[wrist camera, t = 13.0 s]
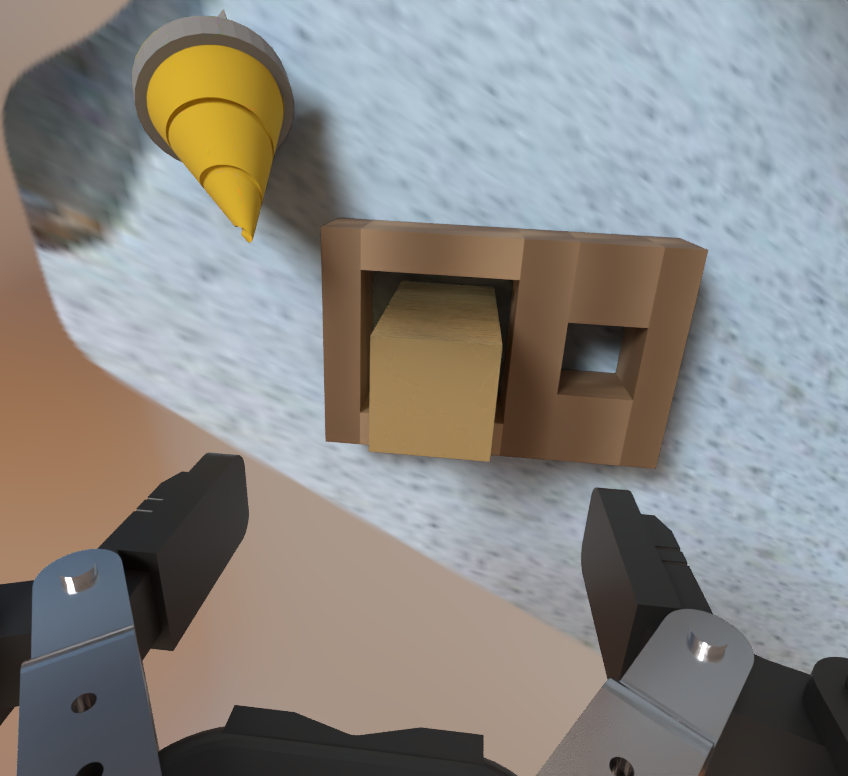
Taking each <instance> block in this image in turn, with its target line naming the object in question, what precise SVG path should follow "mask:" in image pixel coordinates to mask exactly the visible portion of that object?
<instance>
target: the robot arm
mask: <svg viewBox="0 0 848 776" xmlns="http://www.w3.org/2000/svg"><path fill="white" fill-rule="evenodd" d="M248 518H249V509H248V497H247V487H246V476H245V466H244V461H243V458H242V457H241V456H240V455H231V454H219V453H206V454H205V455H204V456H203V457H202V458H201V459H200V460H199V462H197V464H196V465H195V466H194V467H193V468H192V469H191V470H190V471H189V472H180V473H179V474H177V475H175V476H173V477H171V478H169V479H168V480H166V481H164V482H162V483H161V484H160V485H159V486H158V487H157V488H156V489H155V490H154V491H153V492H152V493H151V494H150V495H149V496H148V499H147V500H144V501H143V502H142V503H141V504H140V505H139V507H138V508H137V511H134V512H133V513H132V514H131V515H130V516H129V517H128V518H127V519H126V520H125V521H124V522H123V523H122V524H121V525H120V526H119V527H118V528H117V529H116V530H115V531H114V532H113V533H112V534H111V535H110V536H109V537H108V538H107V539H106V540H105V541H104V542H103V543H102V545H101V546H100V547H99V548H98V549H88V550H82V551H78V552H74V553H71V554H68V555H66V556H63V557H61V558H60V559H57V560H55V561H54V562H52V563H51V564H49V565H48V566H46V567H45V568H44V569H43V570H42V571H41V572H40V573H39V574H38V575H37V577H36V578H35V580H32V581H25V582H16V583H8V584H0V725H1V724H2V723H3V721H4V720H5V719H6V717H7V716H8V715H9V714H10V712H11V711H12V710H13V709H14V707H16V706H19V725H18V751H17V752H18V753H17V776H517V775H516V774H514V773H513V772H511V771H510V770H509V769H507V768H505V767H503V766H501V765H499V764H498V763H496V762H494V761H491V760H489V759H486V758H484V757H483V735H478V734H471V733H462V732H454V731H446V730H437V729H429V728H413V729H405V730H397V731H389V732H382V733H374V734H366V735H350V734H347V733H345V732H342V731H340V730H337V729H335V728H332V727H330V726H327V725H325V724H322V723H320V722H317V721H315V720H312V719H310V718H307V717H305V716H302V715H300V714H297V713H295V712H288V711H280V710H272V709H263V708H255V707H247V706H238V705H235V706H234V708H233V710H232V712H231V714H230V717H229V719H228V721H227V723H226V726H225V727H218V728H214V729H210V730H206V731H202V732H199V733H196V734H194V735H191V736H188V737H185V738H183V739H181V740H179V741H177V742H175V743H172V744H170V745H169V746H167V747H165V748H163V749H162V750H159V745H158V740H157V734H156V729H155V724H154V719H153V713H152V708H151V703H150V698H149V693H148V687H147V682H146V677H145V672H144V667H143V662H142V661H143V659H144V658H145V656H146V655H147V653H148V652H149V650H150V649H159V650H168V651H173V650H174V649H175V647H176V646H177V644H178V642H179V641H180V639H181V638H182V636H183V634H184V633H185V631H186V630H187V628H188V626H189V625H190V623H191V622H192V620H193V618H194V617H195V615H196V614H197V612H198V610H199V609H200V607H201V605H202V604H203V602H204V601H205V599H206V598H207V596H208V594H209V592H210V591H211V589H212V588H213V586H214V585H215V583H216V581H217V580H218V578H219V577H220V575H221V573H222V572H223V570H224V569H225V567H226V565H227V564H228V562H229V560H230V559H231V557H232V556H233V554H234V552H235V551H236V549H237V548H238V546H239V544H240V543H241V541H242V540H243V538H244V535H245V533H246V529H247V525H248ZM581 566H582V573H583V578H584V582H585V586H586V591H587V595H588V599H589V603H590V607H591V612H592V616H593V620H594V624H595V629H596V633H597V637H598V641H599V645H600V650H601V654H602V658H603V662H604V666H605V671H606V675H607V679H608V680H607V681H606V682H605V684H604V685H603V686H602V687H601V689H600V690H599V691H598V693H597V694H596V696H595V697H594V698H593V699H592V701H591V702H590V703H589V705H588V706H587V707H586V709H585V710H584V712H583V713H582V714H581V716H580V717H579V718H578V720H577V721H576V722H575V724H574V725H573V726H572V728H571V729H570V731H569V732H568V733H567V734H566V736H565V737H564V739H563V740H562V741H561V743H560V744H559V745H558V747H557V748H556V749H555V751H554V752H553V754H552V755H551V756H550V757H549V759H548V760H547V761H546V763H545V764H544V766H543V767H542V768H541V770H540V771H539V772H538V774H537V775H536V776H848V659H847V658H842V657H828V658H824V659H821V660H820V661H818V662H817V663H816V664H815V666H814V668H813V670H812V673H811V675H809V674H806V673H803V672H801V671H798V670H795V669H792V668H789V667H786V666H783V665H780V664H777V663H774V662H771V661H769V660H766V659H764V658H761V657H759V656H757V655H755V654H754V653H753V649H752V647H751V645H750V643H749V642H748V640H747V639H746V638H745V637H744V635H743V634H742V633H741V632H740V631H739V630H737V629H736V628H735V627H734V626H733V625H731V624H730V623H728V622H727V621H725V620H723V619H721V618H720V617H717V616H715V615H713V613H712V611H711V609H710V607H709V605H708V603H707V601H706V599H705V597H704V595H703V593H702V591H701V589H700V587H699V585H698V583H697V581H696V579H695V577H694V575H693V573H692V571H691V569H690V567H689V566H687V561H686V559H685V557H684V555H683V553H682V552H680V547H679V545H678V543H677V541H676V539H675V537H674V535H673V533H672V531H671V530H670V529H669V528H668V527H666V526H665V525H664V524H663V523H662V522H661V521H660V520H659V519H658V518H657V517H656V516H654V515H644V514H641V513H640V511H639V509H638V506H637V504H636V502H635V499H634V497H633V495H632V493H631V492H630V491H629V490H618V489H607V488H594V490H593V492H592V495H591V500H590V506H589V511H588V516H587V522H586V527H585V532H584V538H583V543H582V552H581Z"/></svg>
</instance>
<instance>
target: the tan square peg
mask: <svg viewBox="0 0 848 776" xmlns="http://www.w3.org/2000/svg"><path fill="white" fill-rule="evenodd" d="M501 355H502V339H501V332H500V325H499V318H498V310H497V303H496V296H495V289H494V287H487V286H472V285H458V284H443V283H428V282H413V281H401V283H400V285H399V287H398V288H397V290H396V292H395V294H394V295H393V297H392V299H391V301H390V302H389V304H388V306H387V308H386V309H385V311H384V313H383V315H382V316H381V318H380V320H379V322H378V323H377V325H376V327H375V329H374V331H373V332H372V334H371V336H370V401H369V451H371V452H382V453H394V454H406V455H417V456H429V457H441V458H452V459H464V460H476V461H487V462H490V455H491V446H492V437H493V428H494V418H495V409H496V400H497V391H498V382H499V373H500V364H501Z"/></svg>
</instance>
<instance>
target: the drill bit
mask: <svg viewBox="0 0 848 776" xmlns="http://www.w3.org/2000/svg"><path fill="white" fill-rule="evenodd" d="M132 87H133V94H134V100H135V106H136V110H137V114H138V118H139V120H140V122H141V124H142V126H143V128H144V130H145V131H146V133H147V134H148V135H149V137H150V138H151V139H152V141H153V142H154V143H155V144H156V145H158V146H159V147H160V148H161V149H162V150H163V151H164V152H166V153H167V154H169V155H170V156H172V157H173V158H175V159H176V160H179V161H181V162H183V164H184V165H185V166H186V167H187V168H188V170H189V171H190V172H191V173H192V175H193V176H194V177H195V178H196V179H197V181H198V182H199V183H200V184H201V186H202V187H203V188H204V189H205V190H206V192H207V193H208V194H209V195H210V197H211V198H212V199H213V200H214V201H215V203H216V204H217V205H218V206H219V208H220V209H221V210H222V211H223V212H224V214H225V215H226V216H227V217H228V219H229V220H230V221H231V222H232V223H233V225H234V226H235V227H241V228H242V233H241V234H242V236H243V237H244V238H245V239H246V240H247V241H248V242H249V243H250V242H252V240H253V237H254V233H255V229H256V225H257V221H258V217H259V213H260V209H261V205H262V201H263V198H264V194H265V190H266V186H267V182H268V178H269V174H270V170H271V166H272V162H273V158H274V154H275V150H277V149H278V148H279V146H280V145H281V144H282V142H283V141H284V140H285V139H286V137H287V135H288V132H289V130H290V128H291V125H292V121H293V117H294V100H293V95H292V90H291V87H290V84H289V81H288V77H287V74H286V72H285V69H284V67H283V65H282V62H281V60H280V59H279V57H278V56H277V54H276V53H275V51H274V50H273V48H272V47H271V46H270V45H269V44H268V43H267V42H266V41H265V40H264V39H263V38H262V37H261V36H259V35H258V34H256V33H255V32H253V31H252V30H251V29H249V28H248V27H245V26H243V25H241V24H239V23H236V22H234V21H232V20H228V19H227V18H226V15H225V12H224V9H223V10H222V12H221V13H220V14H219V16H218V17H215V16H192V17H186V18H180V19H178V20H175V21H172V22H170V23H167V24H165V25H164V26H162V27H161V28H159V29H158V30H156V31H155V32H153V33H152V34H151V35H150V36H149V37H148V39H147V40H146V41H145V42H144V43H143V44H142V46H141V48H140V50H139V52H138V53H137V55H136V58H135V62H134V66H133V70H132Z"/></svg>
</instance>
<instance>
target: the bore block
mask: <svg viewBox="0 0 848 776" xmlns="http://www.w3.org/2000/svg"><path fill="white" fill-rule="evenodd" d="M707 253H708V250H707V249H704V248H702V247H700V246H697V245H695V244H693V243H690V242H688V241H686V240H683V239H681V238H669V237H652V236H635V235H618V234H601V233H585V232H568V231H551V230H534V229H517V228H500V227H484V226H467V225H450V224H433V223H416V222H400V221H383V220H366V219H349V218H337V219H335V220H333V221H331V222H329V223H327V224H325V225H323V226H321V260H322V303H323V347H324V391H325V435H326V441H328V442H340V443H352V444H364V445H369V401H370V336H371V334H372V332H373V271H387V272H402V273H418V274H433V275H448V276H464V277H479V278H495V279H510V280H513V284H512V293H511V302H510V312H509V321H508V330H507V339H506V348H505V357H504V366H503V375H502V384H501V394H500V395H497V400H496V409H495V418H494V428H493V437H492V446H491V455H497V456H509V457H521V458H533V459H546V460H558V461H570V462H582V463H594V464H606V465H618V466H630V467H642V468H654V469H656V465H657V461H658V457H659V453H660V449H661V444H662V440H663V436H664V432H665V428H666V424H667V420H668V415H669V411H670V407H671V403H672V399H673V395H674V390H675V386H676V382H677V378H678V374H679V370H680V365H681V361H682V357H683V353H684V349H685V345H686V340H687V336H688V332H689V328H690V324H691V320H692V316H693V311H694V307H695V303H696V299H697V295H698V291H699V286H700V282H701V278H702V274H703V270H704V266H705V261H706V257H707ZM568 323H580V324H595V325H610V326H624V327H625V328H624V333H623V338H622V343H621V349H620V354H619V359H618V364H617V369H616V373H605V372H592V371H578V370H564V369H561V366H562V359H563V353H564V346H565V340H566V333H567V326H568Z"/></svg>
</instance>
